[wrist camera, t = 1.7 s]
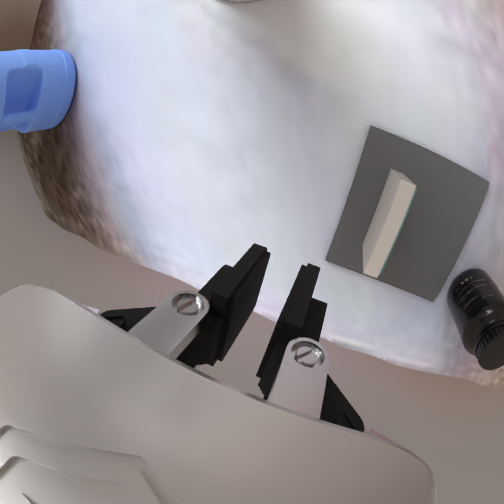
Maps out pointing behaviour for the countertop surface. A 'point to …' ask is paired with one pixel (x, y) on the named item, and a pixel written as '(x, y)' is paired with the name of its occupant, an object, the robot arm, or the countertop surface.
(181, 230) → the countertop surface
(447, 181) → the mat
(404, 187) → the block
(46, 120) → the water jug
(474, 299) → the supplement bottle
